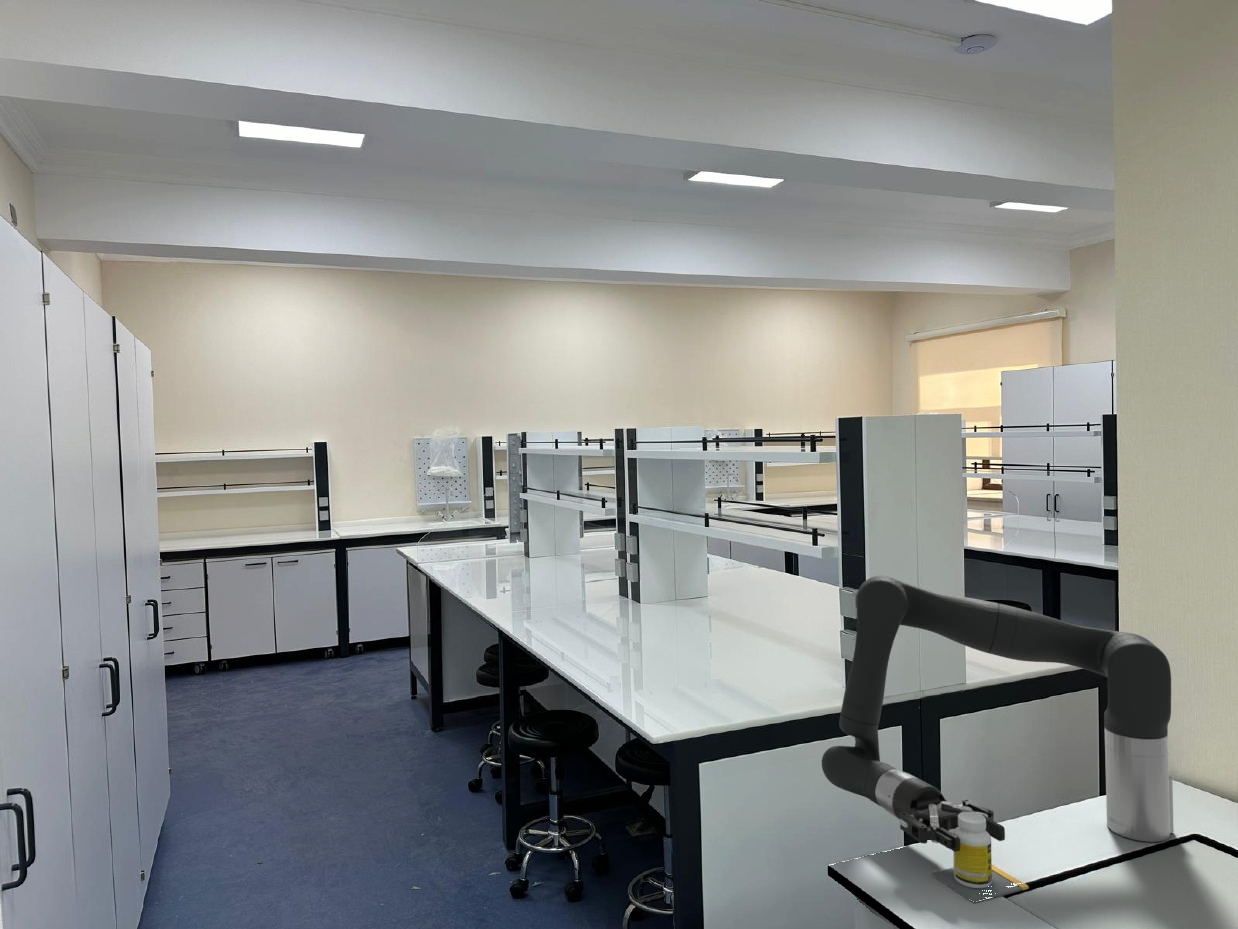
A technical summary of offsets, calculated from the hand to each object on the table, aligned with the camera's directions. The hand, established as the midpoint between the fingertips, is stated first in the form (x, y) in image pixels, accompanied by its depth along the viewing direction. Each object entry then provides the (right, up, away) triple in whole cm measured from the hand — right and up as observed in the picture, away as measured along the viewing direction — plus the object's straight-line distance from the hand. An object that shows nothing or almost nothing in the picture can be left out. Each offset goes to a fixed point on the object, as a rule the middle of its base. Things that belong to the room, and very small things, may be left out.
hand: (981, 840), depth 126 cm
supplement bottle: (0, -7, +2) cm, 8 cm away
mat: (0, -7, +2) cm, 8 cm away
